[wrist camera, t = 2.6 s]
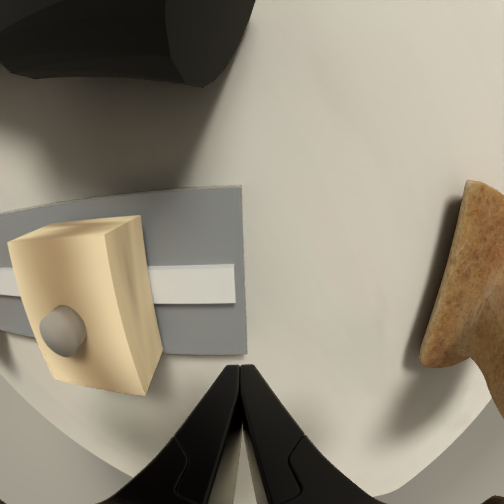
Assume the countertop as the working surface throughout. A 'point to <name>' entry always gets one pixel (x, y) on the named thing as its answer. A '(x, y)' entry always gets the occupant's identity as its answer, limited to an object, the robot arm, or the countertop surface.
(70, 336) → the block
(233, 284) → the track
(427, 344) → the stone cup
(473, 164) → the countertop surface
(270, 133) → the countertop surface
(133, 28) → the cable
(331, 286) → the countertop surface
